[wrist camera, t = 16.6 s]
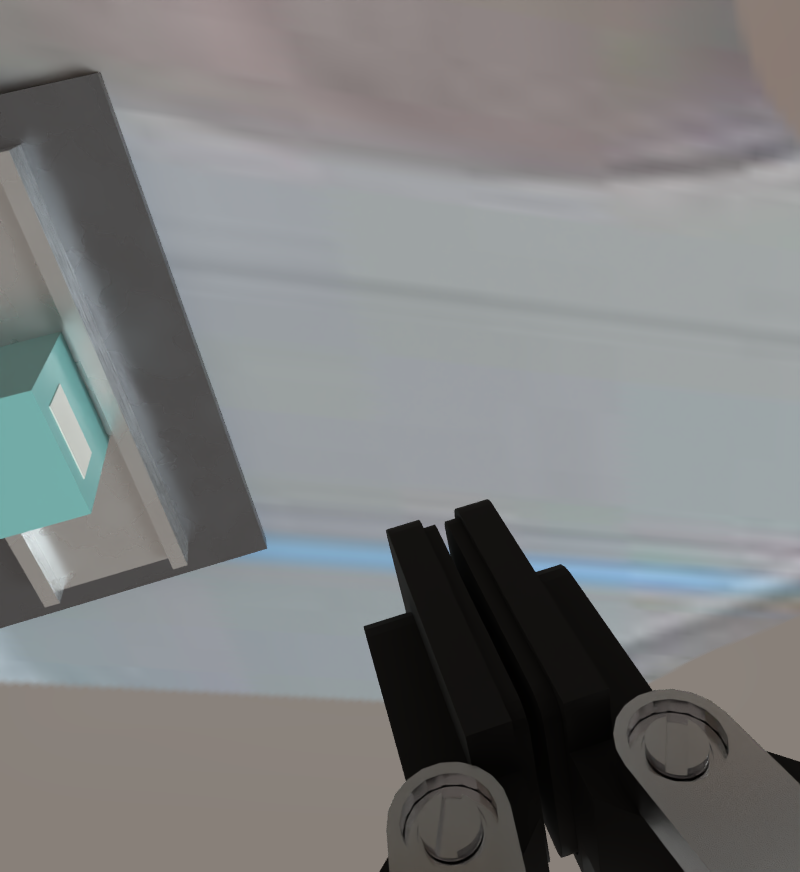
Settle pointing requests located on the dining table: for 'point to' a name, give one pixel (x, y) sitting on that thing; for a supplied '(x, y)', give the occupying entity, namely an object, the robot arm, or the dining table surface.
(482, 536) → the robot arm
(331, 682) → the dining table surface
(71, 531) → the rail board
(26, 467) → the block
